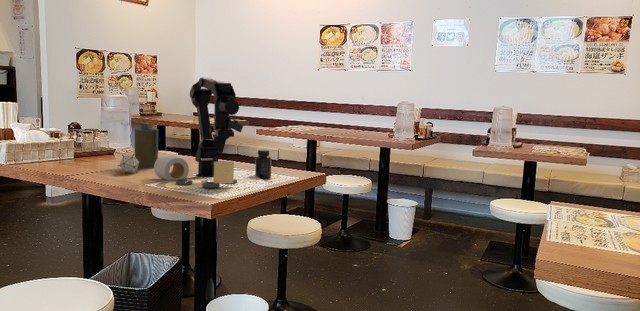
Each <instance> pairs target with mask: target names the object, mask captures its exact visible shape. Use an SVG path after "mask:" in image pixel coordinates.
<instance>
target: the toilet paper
mask: <svg viewBox="0 0 640 311" xmlns="http://www.w3.org/2000/svg"><path fill="white" fill-rule="evenodd" d="M171 167H172V170H171ZM153 170H154V173H155V176H157V177H158V178H159V179H162V180H167V181H173V180H175V181H177V180H187V179H186V178H187V177H188V176H189V171H190V168H189V164H188V162H187V161H186V160H184V159H183V158H181V157H177V156H174V155H171V154H163V155H160V156H158V159H157V160H156V162H155V164H154V168H153ZM170 170H171V172H170Z"/></svg>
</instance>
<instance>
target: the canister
mask: <svg viewBox="0 0 640 311" xmlns="http://www.w3.org/2000/svg"><path fill="white" fill-rule="evenodd" d="M139 125H140V128H134V129H133V130H134V157H135V158H136V159H137V160H138V161H139V162H140V161H141V163H139V166H138V168H137V169H154V164H155V162H156V160H157V159H158V158H159V129H158V128H152V123H151V122H149V123H148V122H140V124H139Z"/></svg>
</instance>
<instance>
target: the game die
mask: <svg viewBox="0 0 640 311" xmlns="http://www.w3.org/2000/svg"><path fill="white" fill-rule="evenodd" d="M121 156H122V158H121V161H120V163H119V165H118V164H117V167H120V168H121V169H122V170H123V171H124V174H125V175H126V174H127V173H136V174H138V171H137V170H138V169H139V168H138V166H139V163H141V161H140V162H139V161H138V160H137V159H136V158H135V153H133V154H132V155H124V154H122V155H121Z"/></svg>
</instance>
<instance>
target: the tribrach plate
mask: <svg viewBox="0 0 640 311" xmlns="http://www.w3.org/2000/svg"><path fill="white" fill-rule="evenodd" d="M204 182H212V180H209V179H203V180H201V183H202V184H203V183H204ZM222 184H224V185H233V184H234V185H235V184H238V180H237V179H235V178H233V183H222ZM175 185H176V186H192V185H193V180H190V179H176V180H175Z"/></svg>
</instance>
